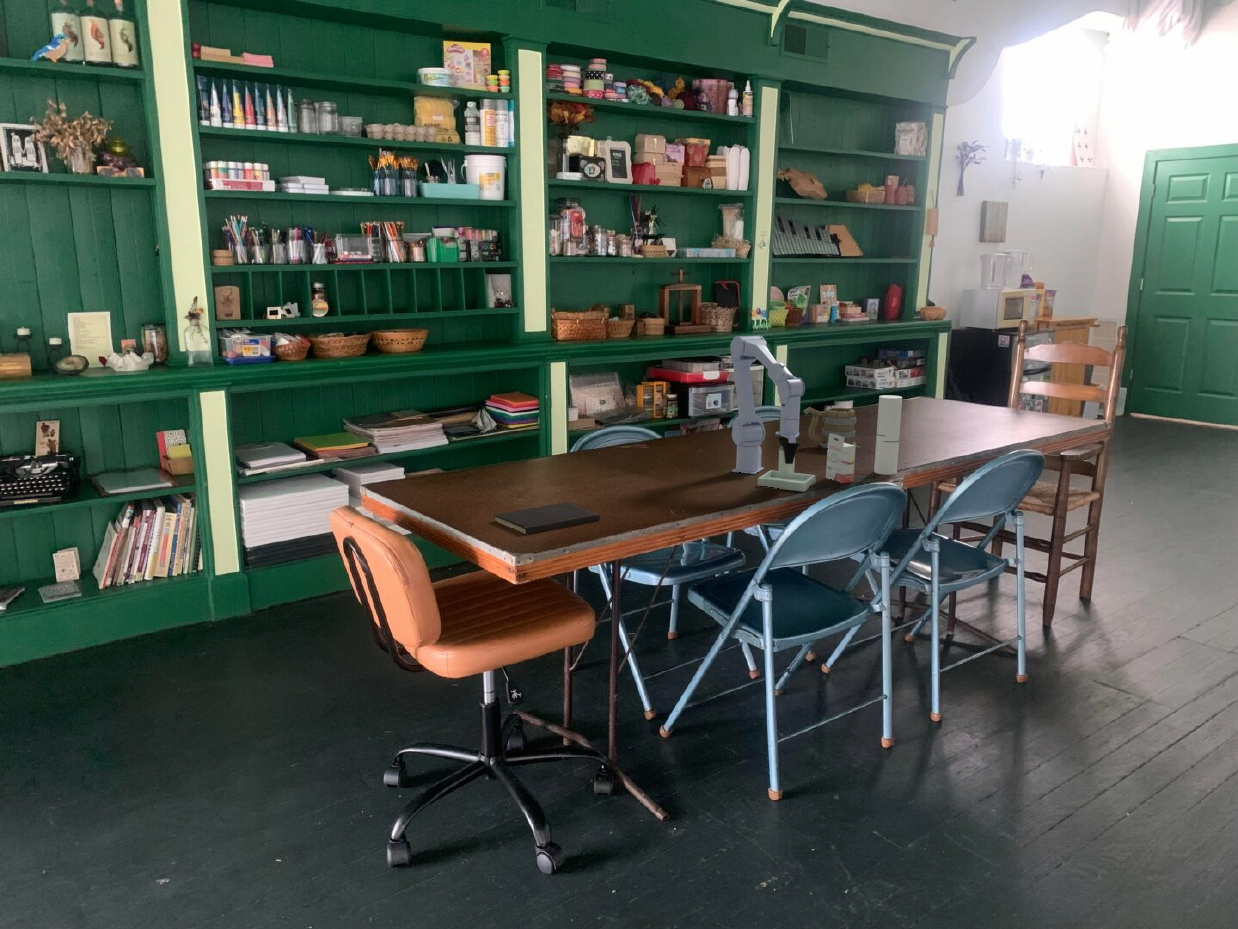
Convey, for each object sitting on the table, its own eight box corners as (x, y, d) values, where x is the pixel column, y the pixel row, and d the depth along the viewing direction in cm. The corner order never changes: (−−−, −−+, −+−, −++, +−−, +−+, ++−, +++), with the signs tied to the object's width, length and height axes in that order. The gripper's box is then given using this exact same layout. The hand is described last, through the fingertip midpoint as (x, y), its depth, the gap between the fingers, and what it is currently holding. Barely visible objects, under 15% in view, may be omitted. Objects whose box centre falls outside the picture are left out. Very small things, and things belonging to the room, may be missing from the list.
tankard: (850, 443, 355) (852, 404, 352) (859, 450, 343) (862, 409, 340) (797, 443, 355) (799, 404, 352) (805, 450, 343) (807, 409, 339)
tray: (770, 477, 298) (770, 470, 298) (815, 483, 292) (815, 475, 291) (757, 486, 287) (757, 478, 287) (804, 491, 281) (804, 483, 280)
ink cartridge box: (854, 482, 293) (857, 436, 290) (841, 483, 291) (844, 437, 288) (837, 476, 301) (840, 431, 298) (824, 477, 299) (827, 432, 296)
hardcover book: (494, 523, 247) (494, 514, 247) (566, 510, 261) (566, 502, 261) (526, 537, 235) (525, 528, 234) (600, 522, 249) (600, 514, 248)
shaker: (777, 470, 291) (777, 445, 289) (792, 470, 291) (793, 444, 289) (779, 473, 286) (780, 448, 285) (795, 473, 286) (796, 447, 285)
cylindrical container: (881, 468, 312) (886, 394, 307) (900, 472, 307) (906, 396, 302) (870, 472, 307) (875, 396, 302) (889, 475, 303) (895, 399, 297)
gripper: (773, 414, 292) (771, 456, 295) (779, 422, 278) (777, 466, 281) (796, 414, 292) (794, 457, 295) (803, 422, 278) (801, 467, 281)
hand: (787, 461), depth 288 cm, fingers closed on shaker, 5 cm apart
